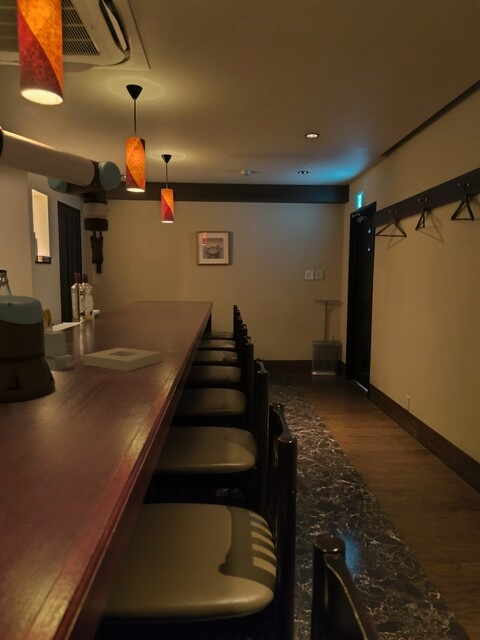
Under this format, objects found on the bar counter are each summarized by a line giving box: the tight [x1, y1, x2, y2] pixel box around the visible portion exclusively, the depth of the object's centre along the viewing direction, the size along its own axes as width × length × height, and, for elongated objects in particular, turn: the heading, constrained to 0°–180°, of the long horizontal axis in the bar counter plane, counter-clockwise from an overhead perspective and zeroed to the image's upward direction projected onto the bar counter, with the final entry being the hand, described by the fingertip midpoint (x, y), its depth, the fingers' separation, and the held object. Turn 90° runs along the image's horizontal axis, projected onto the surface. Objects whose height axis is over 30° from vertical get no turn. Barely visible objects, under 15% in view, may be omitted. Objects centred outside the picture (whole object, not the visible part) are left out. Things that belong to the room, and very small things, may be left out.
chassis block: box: [83, 347, 163, 372], centre depth 134 cm, size 15×19×3 cm
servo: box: [44, 329, 74, 372], centre depth 128 cm, size 4×12×12 cm, turn 60°
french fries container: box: [42, 308, 54, 332], centre depth 147 cm, size 5×11×18 cm, turn 14°
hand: (98, 284), depth 139 cm, fingers open, 13 cm apart
